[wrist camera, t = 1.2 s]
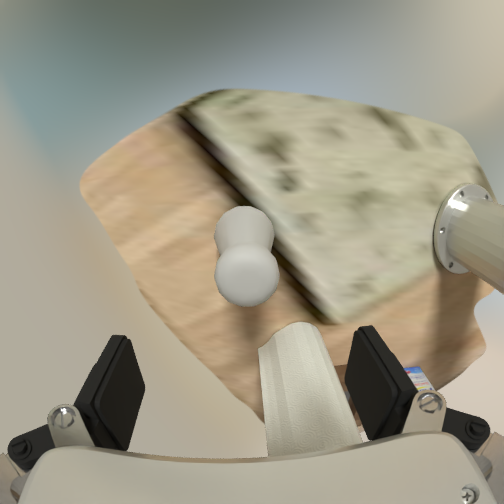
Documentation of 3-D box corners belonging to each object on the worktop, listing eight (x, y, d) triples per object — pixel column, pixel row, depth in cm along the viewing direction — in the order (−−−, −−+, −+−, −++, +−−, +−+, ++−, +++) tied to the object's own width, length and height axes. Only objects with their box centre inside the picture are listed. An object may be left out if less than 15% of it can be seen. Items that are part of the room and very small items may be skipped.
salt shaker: (232, 263, 32) (228, 333, 19) (206, 218, 30) (183, 265, 18) (280, 240, 31) (306, 299, 19) (256, 192, 29) (269, 222, 17)
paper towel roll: (329, 328, 35) (391, 472, 15) (305, 362, 37) (344, 502, 17) (279, 310, 34) (316, 474, 14) (257, 347, 36) (272, 503, 16)
